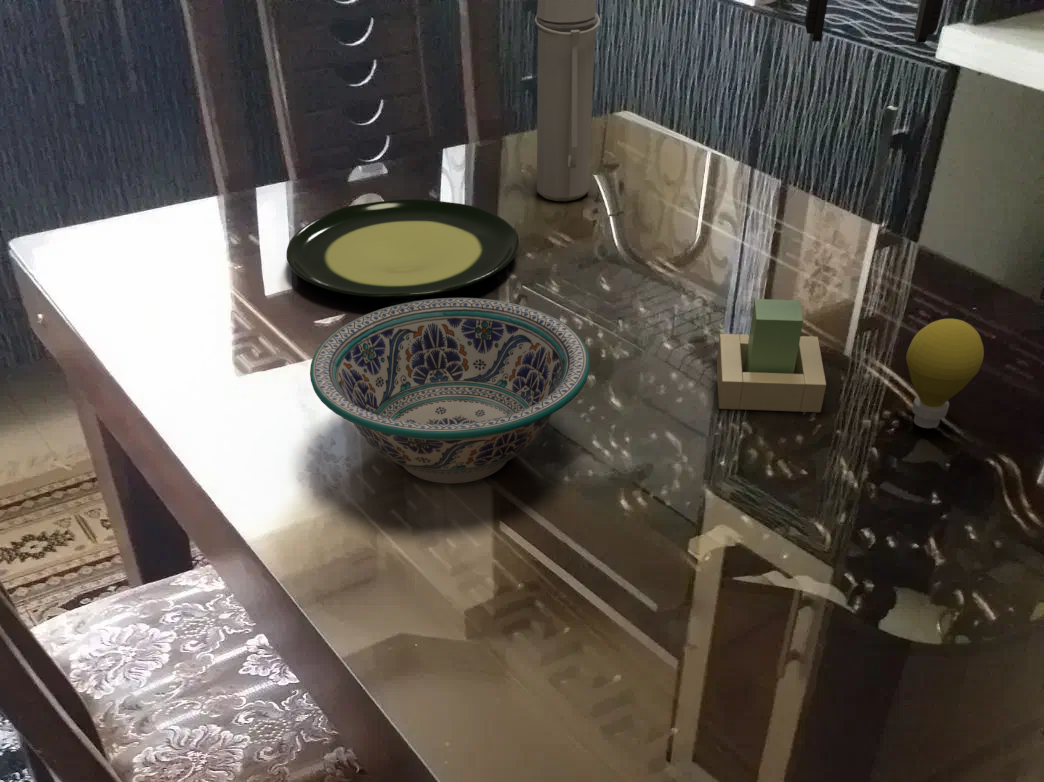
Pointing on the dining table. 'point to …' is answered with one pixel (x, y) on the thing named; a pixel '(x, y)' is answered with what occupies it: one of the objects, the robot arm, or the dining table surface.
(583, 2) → the water bottle
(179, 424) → the dining table surface
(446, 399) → the bowl
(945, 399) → the light bulb
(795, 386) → the socket pad
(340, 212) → the plate
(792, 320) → the post
